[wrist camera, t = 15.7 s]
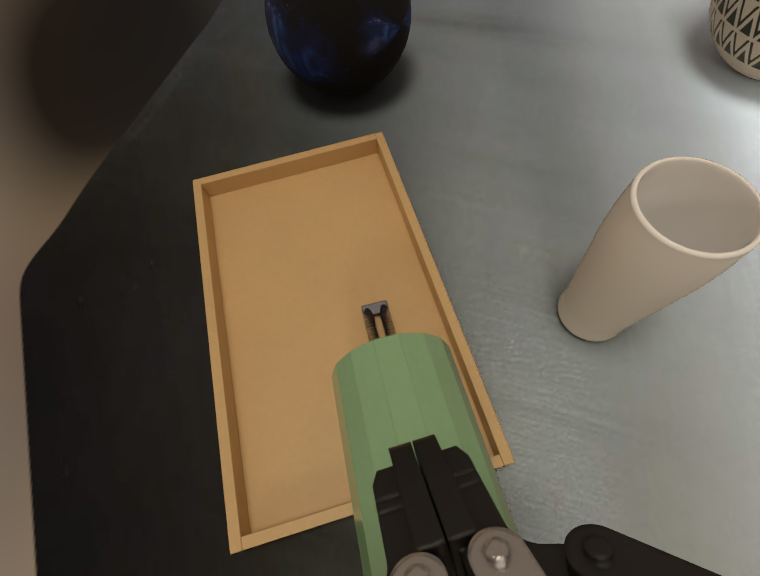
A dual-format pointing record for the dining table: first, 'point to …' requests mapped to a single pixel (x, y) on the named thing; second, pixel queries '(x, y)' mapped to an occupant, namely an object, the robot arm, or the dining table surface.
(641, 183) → the drinking glass
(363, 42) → the decorative sphere
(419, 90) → the dining table surface
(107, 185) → the dining table surface
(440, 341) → the green cup
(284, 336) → the tray
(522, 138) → the dining table surface
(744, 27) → the planter
